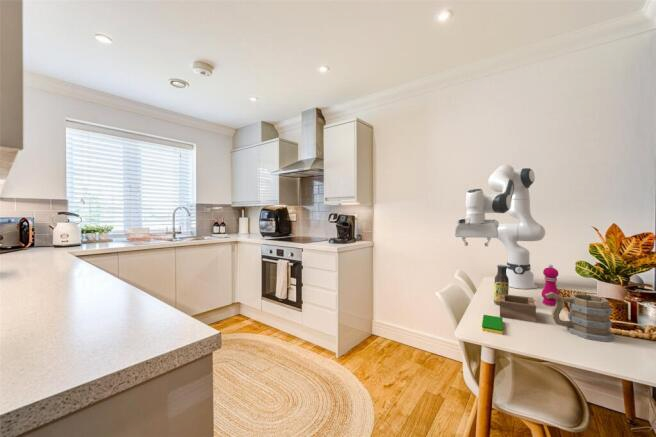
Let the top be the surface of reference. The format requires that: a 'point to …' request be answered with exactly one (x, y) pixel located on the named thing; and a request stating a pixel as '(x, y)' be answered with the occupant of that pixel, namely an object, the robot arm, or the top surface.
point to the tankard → (585, 316)
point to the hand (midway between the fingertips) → (476, 245)
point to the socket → (517, 308)
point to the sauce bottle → (500, 283)
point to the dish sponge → (492, 324)
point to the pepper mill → (550, 285)
